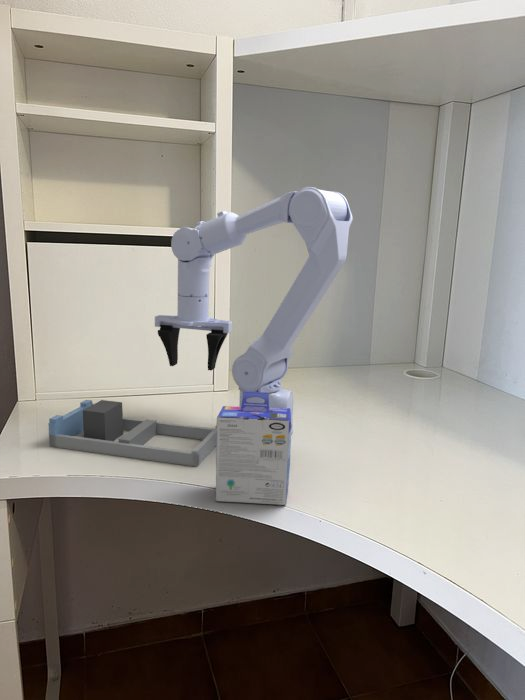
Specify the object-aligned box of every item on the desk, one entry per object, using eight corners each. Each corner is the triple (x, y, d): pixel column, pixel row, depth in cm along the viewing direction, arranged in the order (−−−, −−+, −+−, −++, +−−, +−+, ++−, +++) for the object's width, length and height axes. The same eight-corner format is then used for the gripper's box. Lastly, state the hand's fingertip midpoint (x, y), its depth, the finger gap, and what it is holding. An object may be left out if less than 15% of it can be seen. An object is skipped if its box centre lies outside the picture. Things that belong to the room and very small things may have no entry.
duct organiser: (221, 440, 96) (221, 414, 95) (196, 466, 85) (197, 438, 84) (88, 423, 102) (87, 399, 101) (49, 446, 91) (48, 419, 90)
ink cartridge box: (288, 488, 79) (292, 391, 76) (288, 506, 73) (292, 403, 70) (220, 484, 79) (221, 387, 76) (214, 502, 74) (215, 399, 71)
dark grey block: (123, 434, 97) (122, 402, 96) (105, 447, 91) (104, 412, 90) (102, 432, 98) (101, 399, 97) (84, 444, 92) (82, 410, 91)
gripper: (147, 294, 98) (147, 367, 101) (224, 300, 95) (222, 376, 98) (163, 290, 105) (163, 359, 108) (236, 296, 102) (233, 367, 105)
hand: (192, 367), depth 103 cm, fingers open, 7 cm apart
